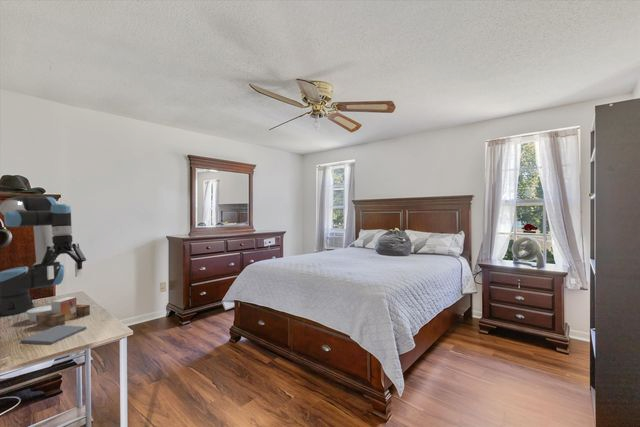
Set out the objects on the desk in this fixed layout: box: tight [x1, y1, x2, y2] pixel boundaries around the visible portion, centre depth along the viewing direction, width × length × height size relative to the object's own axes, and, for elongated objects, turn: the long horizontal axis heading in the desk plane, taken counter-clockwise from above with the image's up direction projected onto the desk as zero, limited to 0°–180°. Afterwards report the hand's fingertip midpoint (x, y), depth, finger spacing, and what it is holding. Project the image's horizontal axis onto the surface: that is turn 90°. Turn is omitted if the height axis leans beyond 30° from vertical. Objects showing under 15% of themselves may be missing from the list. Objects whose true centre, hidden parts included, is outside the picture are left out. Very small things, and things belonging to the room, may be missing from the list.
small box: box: [50, 296, 78, 322], centre depth 145 cm, size 8×6×10 cm
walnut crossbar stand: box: [36, 304, 91, 328], centre depth 145 cm, size 12×16×5 cm
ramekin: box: [25, 304, 52, 323], centre depth 147 cm, size 11×11×5 cm
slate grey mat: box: [20, 325, 87, 345], centre depth 127 cm, size 15×15×1 cm
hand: (64, 277), depth 144 cm, fingers open, 13 cm apart
